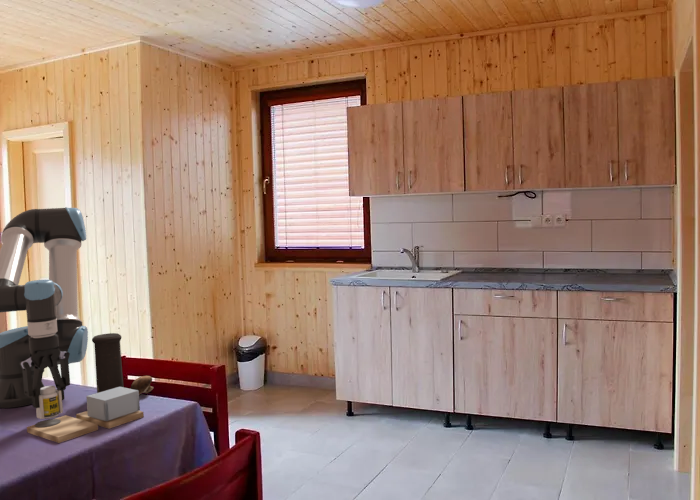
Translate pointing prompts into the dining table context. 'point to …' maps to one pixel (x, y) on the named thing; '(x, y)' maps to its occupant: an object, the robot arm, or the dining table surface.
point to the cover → (113, 403)
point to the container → (108, 361)
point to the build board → (62, 428)
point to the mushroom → (142, 384)
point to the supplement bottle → (50, 401)
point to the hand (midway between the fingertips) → (50, 414)
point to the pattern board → (112, 422)
